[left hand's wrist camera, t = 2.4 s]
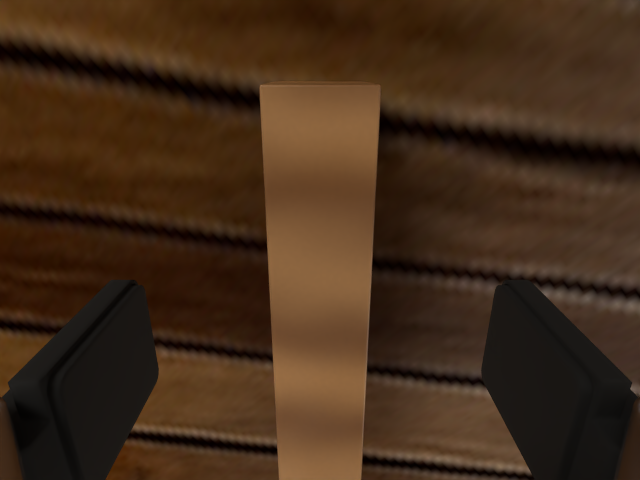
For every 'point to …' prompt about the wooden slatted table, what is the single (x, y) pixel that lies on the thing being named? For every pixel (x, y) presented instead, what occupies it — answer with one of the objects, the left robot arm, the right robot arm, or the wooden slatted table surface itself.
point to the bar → (320, 267)
